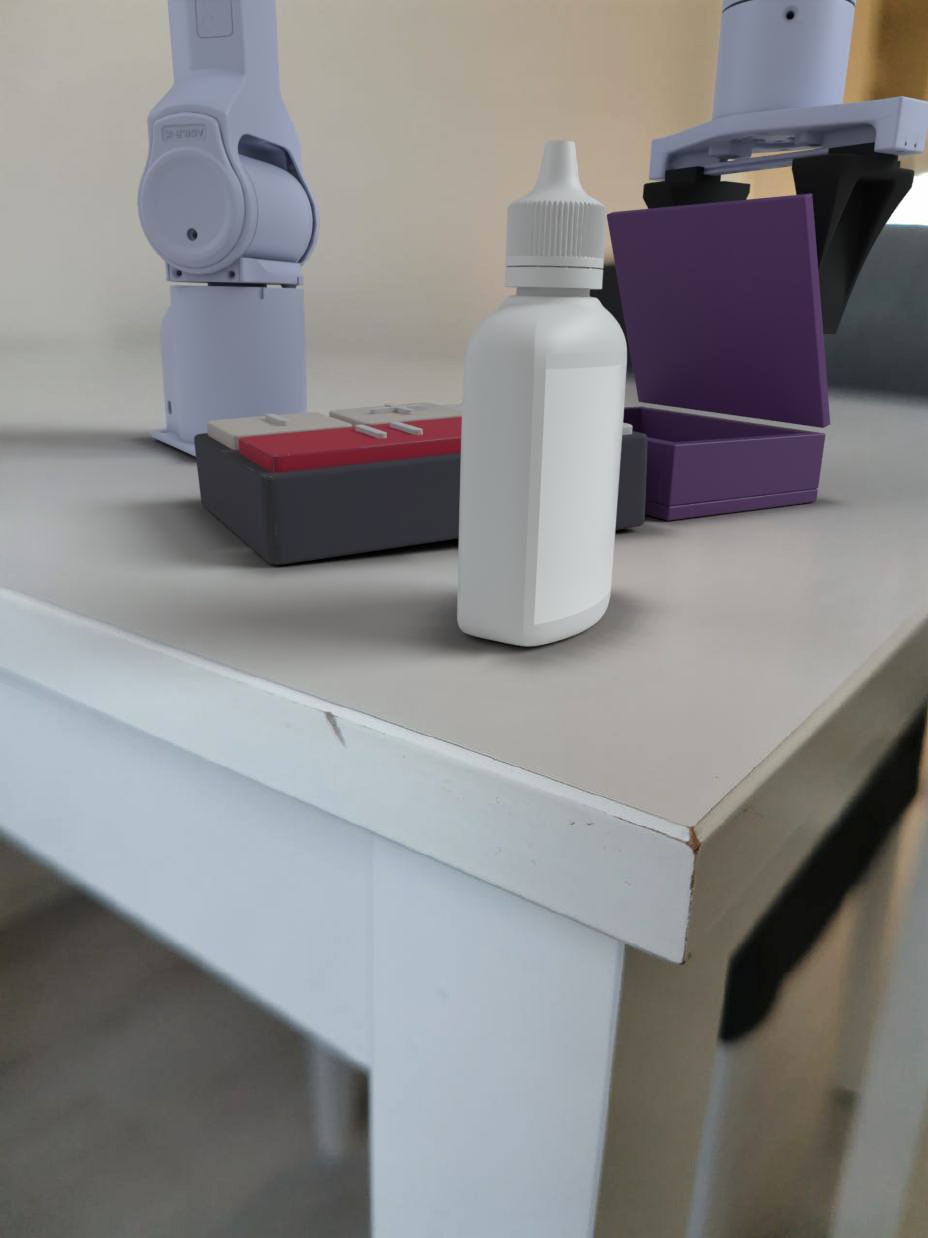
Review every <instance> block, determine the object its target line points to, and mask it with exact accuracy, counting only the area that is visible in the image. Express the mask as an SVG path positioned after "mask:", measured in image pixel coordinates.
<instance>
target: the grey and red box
mask: <svg viewBox="0 0 928 1238" xmlns="http://www.w3.org/2000/svg"><path fill="white" fill-rule="evenodd" d="M207 431H208V433H202V434H198V435H196V436H195V437H194V444H195V453H196V457H195V460H196V461H195V462H196V468H197V477H198V486H199V494H200V501H201V505H202V506H203V507H205V508H206V509H207V510H208V511H209V512H210V513H211V514H212V515H213V516H215V517H216V518H217V519H218V520H219V521H220V522H221V523H223V524H224V525H225V526H226V527H227V528H228V529H229V530H230V531H232V532H233V533H234V534H235V535H236V536H237V537H238V538H240V540H242V541H243V542H244V543H246V544H247V546H249V547H250V548H251V549H252V550H253V551H255V552H256V553H257V555H259V556H260V557H261V558H262V559H264V560H265V561H266V562H267V563H268V564H270V565H277V566H278V565H281V566H282V565H289V564H296V563H301V562H302V563H303V562H308V561H309V562H310V561H315V560H322V559H329V558H335V557H342V556H343V557H344V556H350V555H355V554H362V553H370V552H375V551H383V550H390V549H395V548H402V547H410V546H416V545H422V544H429V543H436V542H443V541H449V540H450V541H451V540H455V539H459V507H460V468H461V431H462V403H453V404H444V405H443V404H442V405H441V404H436V403H432V402H414V403H413V402H411V403H402V404H401V403H400V404H399V403H398V404H395V403H385V404H384V405H378V406H377V405H376V406H366V407H355V408H354V407H353V408H342V409H332V410H329V412H328V415H327V414H324V413H320V412H317V411H307V412H305V413H293V414H281V415H275V414H265V416H257V417H246V418H234V419H222V420H212V421H207ZM646 470H647V435H645V434H643V433H639V432H634V431H632V425H630V424H627V423H623V430H622V444H621V458H620V473H619V487H618V500H617V514H616V528H615V531H619V530H624V529H632V528H637V527H641V526H643V525H644V523H645V520H646V519H645V516H646V514H645V497H646Z"/></svg>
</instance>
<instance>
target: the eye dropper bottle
mask: <svg viewBox="0 0 928 1238" xmlns="http://www.w3.org/2000/svg"><path fill="white" fill-rule="evenodd" d="M506 209H507V214H506V217H507V218H506V241H505V243H506V245H505V270H504V271H505V272H504V288H516V291H515V292H516V293H515V294H513V295H508V296H507V297H506V298H505V299H504V300H503V302H502V303H501V304H499V305H498V306H497V307H495V308H494V309H492V310H491V311H490V312H488V313H487V314H486V315H485V316H484V317H483V318H482V319H481V320H480V321H479V322H478V324H477V325H476V326H475V327H474V329H473V331H472V333H471V334H470V336H469V339H468V341H467V345H466V349H465V354H464V361H463V379H462V380H463V383H462V403H461V404H462V431H461V468H460V507H459V538H458V553H457V555H458V557H457V558H458V559H457V600H456V607H457V608H456V619H457V625H458V628H459V629H460V630H461V631H462V633H464V634H467V635H470V636H473V637H475V638H479V639H484V640H489V641H494V642H499V643H504V644H508V645H513V646H520V647H537V646H543V645H548V644H550V643H551V644H552V643H555V642H558V641H562V640H565V639H569V638H571V637H573V636H576V635H579V634H580V633H583V632H585V631H586V630H588V629H590V628H591V627H592V626H594V625H595V624H596V623H597V622H599V621H600V620H601V619H602V618H603V616H604V615H605V613H606V612H607V609H608V607H609V603H610V600H611V593H612V583H613V582H612V581H613V569H614V567H613V566H614V555H615V540H616V530H615V528H616V514H617V500H618V487H619V473H620V458H621V444H622V430H623V416H624V407H625V403H626V402H625V401H626V385H627V384H626V383H627V365H628V347H627V340H626V336H625V333H624V332H623V329H622V327H621V325H620V323H619V322H618V320H617V319H616V318H615V316H614V315H613V314H612V313H611V312H610V311H609V310H608V309H607V308H605V306H603V304H602V303H601V300H599V299H598V298H597V297H593V296H591V295H590V293H591V290H603V280H604V279H603V278H604V263H605V261H604V260H605V249H606V246H605V245H606V229H607V214H608V208H607V207H606V206H605V204H604V203H602V202H600V201H599V200H597V199H596V198H594V197H592V196H590V195H589V194H588V193H587V192H586V191H585V190H584V188H583V185H582V184H581V181H580V175H579V165H578V159H577V150H576V142H575V141H572V140H564V139H563V140H561V139H558V140H557V139H556V140H555V139H554V140H548V141H545V145H544V149H543V153H542V158H541V162H540V167H539V172H538V177H537V180H536V183H535V184H534V186H533V188H532V189H531V190H530V191H529V192H528V193H527V194H526V195H523V196H521V197H520V198H518V199H516V200H514V201H511V202H510V204H509V205H508V206H507V208H506Z"/></svg>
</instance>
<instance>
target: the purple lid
mask: <svg viewBox="0 0 928 1238" xmlns="http://www.w3.org/2000/svg"><path fill="white" fill-rule="evenodd" d="M606 222H607V226H608V232H609V239H610V243H611V248H612V249H611V250H612V255H613V261H614V266H615V272H616V273H615V274H616V279H617V284H618V289H619V296H620V300H621V301H620V302H621V307H622V313H623V314H622V315H623V319H624V325H625V330H626V336H627V337H626V338H627V342H628V348H629V354H630V359H631V367H632V371H633V378H634V382H635V383H634V384H635V388H636V389H635V390H636V394H637V395H636V396H637V400H638V403H643V404H650V405H657V406H658V405H659V406H665V407H673V408H677V409H678V408H680V409H684V410H685V409H686V410H693V411H700V412H707V413H708V412H709V413H713V414H721V415H728V416H736V417H743V418H749V419H757V420H764V421H770V422H777V423H785V424H792V425H797V426H798V425H799V426H807V427H813V428H821V429H825V428H826V427H828V426H830V425H831V413H830V401H829V392H828V391H829V390H828V377H827V364H826V362H827V361H826V354H825V353H826V352H825V351H826V349H825V338H824V337H825V336H824V334H823V325H822V312H821V299H820V287H819V274H818V261H817V249H816V236H815V224H814V211H813V198H812V194H801V195H796V194H792V195H780V196H771V197H759V198H758V197H757V198H749V199H748V198H747V199H746V200H737V201H726V202H715V203H704V204H694V205H683V206H672V207H661V208H651V209H648V208H641V209H640V208H639V209H631V210H629V209H628V210H620V211H611V212H610V213H607V217H606Z"/></svg>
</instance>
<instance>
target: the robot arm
mask: <svg viewBox="0 0 928 1238" xmlns="http://www.w3.org/2000/svg"><path fill="white" fill-rule="evenodd" d="M856 5H857V0H722V8H721V16H720V17H721V18H720V29H719V30H720V31H719V40H718V48H717V59H716V60H717V62H716V71H715V81H714V91H713V92H714V93H713V103H712V113H711V120H709V121H706V122H703V123H700V124H698V125H694V126H693V127H690V128H687V129H685V130H682V131H679V132H677V133H674V134H671V135H668V136H664V137H659V138H654V139H652V140H651V143H650V145H651V146H650V159H649V170H648V171H649V172H648V180H649V181H651V182H646V183H644V184H643V189H642V190H643V191H642V200H643V201H644V203H645V206H646V208H647V209H651V208H661V207H672V206H683V205H694V204H704V203H715V202H726V201H737V200H747V199H748V197H749V195H750V193H751V183H748V182H747V183H745V182H738V181H730V180H729V181H728V180H722V176H724V175H732V174H740V173H741V174H742V173H748V172H756V171H765V170H773V169H780V168H781V169H782V168H788V167H789V168H790V167H791V174H792V177H793V183H794V189H795V195H801V194H812V198H813V211H814V224H815V236H816V249H817V261H818V274H819V287H820V299H821V312H822V325H823V335H837V332H838V329H839V326H840V325H841V321H842V319H843V315H844V314H845V310H846V308H847V305H848V303H849V300H850V297H851V295H852V293H853V290H854V288H855V285H856V283H857V280H858V278H859V275H860V273H861V271H862V269H863V267H864V265H865V262H866V260H867V258H868V256H869V254H870V253H871V250H872V248H873V246H874V245H875V243H876V241H877V240H878V238H879V236H880V234H881V232H882V231H883V229H884V228H885V226H886V225H887V223H888V222H889V220H890V218H891V217H892V215H893V214H894V212H895V211H896V209H897V208H898V207H899V205H900V204H901V202H902V201H903V200H904V198H905V197H906V196H907V195H908V193H909V192H910V191H911V189H912V188H913V183H914V179H915V172H916V171H915V170H914V169H910V168H904V167H901V164H902V162H901V161H900V160H899V156H901V157H903V156H913V155H920V154H923V153H924V151H925V145H926V140H927V133H928V101H927V100H923V99H918V98H912V97H908V96H903V95H899V96H895V97H888V98H887V97H886V98H881V99H873V100H864V101H855V102H854V101H853V102H846V103H845V102H844V97H845V92H846V91H845V90H846V82H847V75H848V68H849V61H850V53H851V46H852V45H851V44H852V37H853V36H852V35H853V30H854V29H853V28H854V21H855V13H856V9H855V8H856ZM167 8H168V9H167V10H168V23H169V35H170V47H171V59H172V68H173V69H172V72H173V84H172V86H171V87H170V89H169V90H168V91H167V92H166V93H165V94H164V95H163V96H162V98H161V99H160V100H159V101H158V102H157V103H156V104H155V105H154V107H153V108H152V109H150V112H149V113H148V115H147V117H146V123H147V134H148V135H147V136H148V137H147V138H148V147H147V149H148V150H147V155H146V156H147V157H146V161H145V165H144V168H143V171H142V174H141V176H140V180H139V182H138V189H137V202H136V203H137V213H138V218H139V222H140V226H141V229H142V231H143V234H144V236H145V238H146V240H147V242H148V243H149V246H151V248H152V249H153V251H154V252H155V254H157V256H158V257H160V259H162V260H163V261H164V264H165V265H164V266H165V277H166V279H165V280H166V281H167V282H171V283H190V284H207V285H182V284H181V285H177V284H176V285H171V284H170V285H169V296H170V297H169V298H170V305H169V306H168V307H167V309H166V311H165V313H164V315H163V318H162V321H161V324H160V333H159V338H160V339H159V341H160V353H161V356H160V357H161V368H162V382H163V397H164V409H165V410H164V411H165V424H166V428H153V429H150V437H151V438H153V439H155V440H156V441H157V440H158V441H160V442H162V443H164V444H166V445H169V446H171V447H173V448H175V449H177V450H179V451H182V452H184V453H186V454H189V455H190V456H193V457H195V458H196V453H195V444H194V437H195V436H196V435H198V434H202V433H208V431H207V421H212V420H222V419H234V418H246V417H257V416H265V414H275V415H281V414H293V413H305V412H308V396H307V395H308V394H307V362H306V361H307V359H306V358H307V357H306V322H305V289H304V288H297V287H298V286H303V285H304V275H303V273H302V271H301V269H302V267H303V266H304V265H305V264H306V263H307V261H308V260H309V259H310V257H311V256H312V254H313V253H314V251H315V248H316V246H317V243H318V239H319V234H320V227H321V226H320V225H321V223H320V211H319V207H318V203H317V200H316V197H315V195H314V193H313V191H312V189H311V187H310V185H309V183H308V181H307V179H306V176H305V173H304V168H303V161H302V149H301V148H302V147H301V140H300V137H299V134H298V132H297V130H296V127H295V126H294V123H293V120H292V118H291V116H290V114H289V111H288V109H287V107H286V104H285V101H284V99H283V96H282V94H281V83H280V82H281V81H280V64H279V61H280V60H279V42H278V24H277V23H278V21H277V4H276V0H167ZM778 152H779V153H778ZM781 152H784V153H781ZM765 153H767V154H768V153H777V154H770V155H762V156H755V157H752V155H753V154H765ZM268 286H280V287H268Z"/></svg>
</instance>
